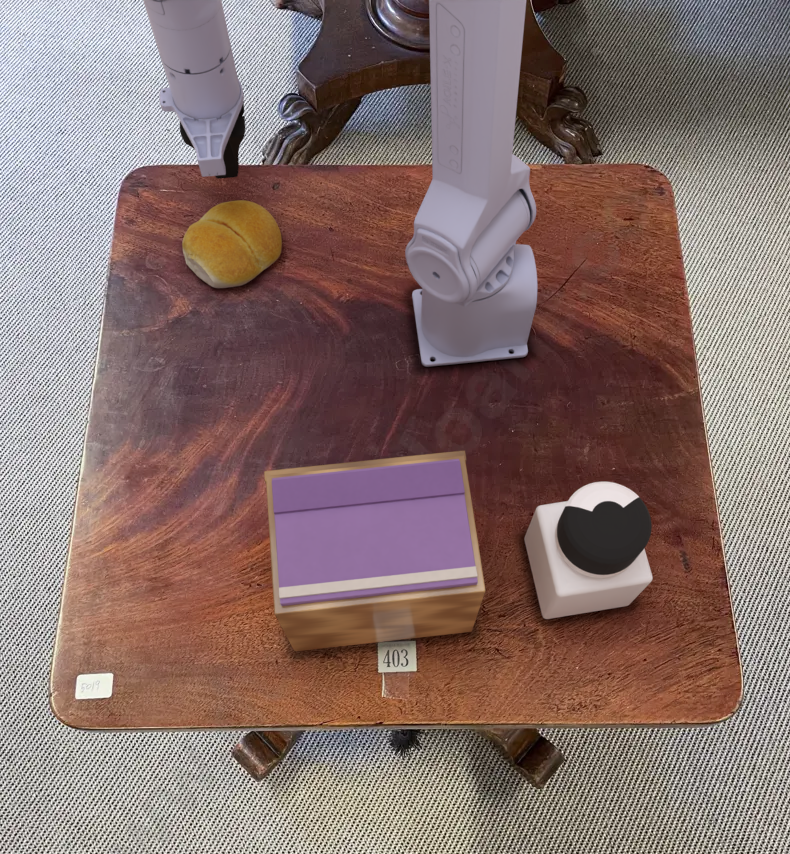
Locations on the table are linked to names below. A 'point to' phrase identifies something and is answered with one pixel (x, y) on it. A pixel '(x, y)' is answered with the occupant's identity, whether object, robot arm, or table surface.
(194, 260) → the bread roll
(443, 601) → the crate
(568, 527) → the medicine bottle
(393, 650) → the table surface
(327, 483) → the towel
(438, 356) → the robot arm
